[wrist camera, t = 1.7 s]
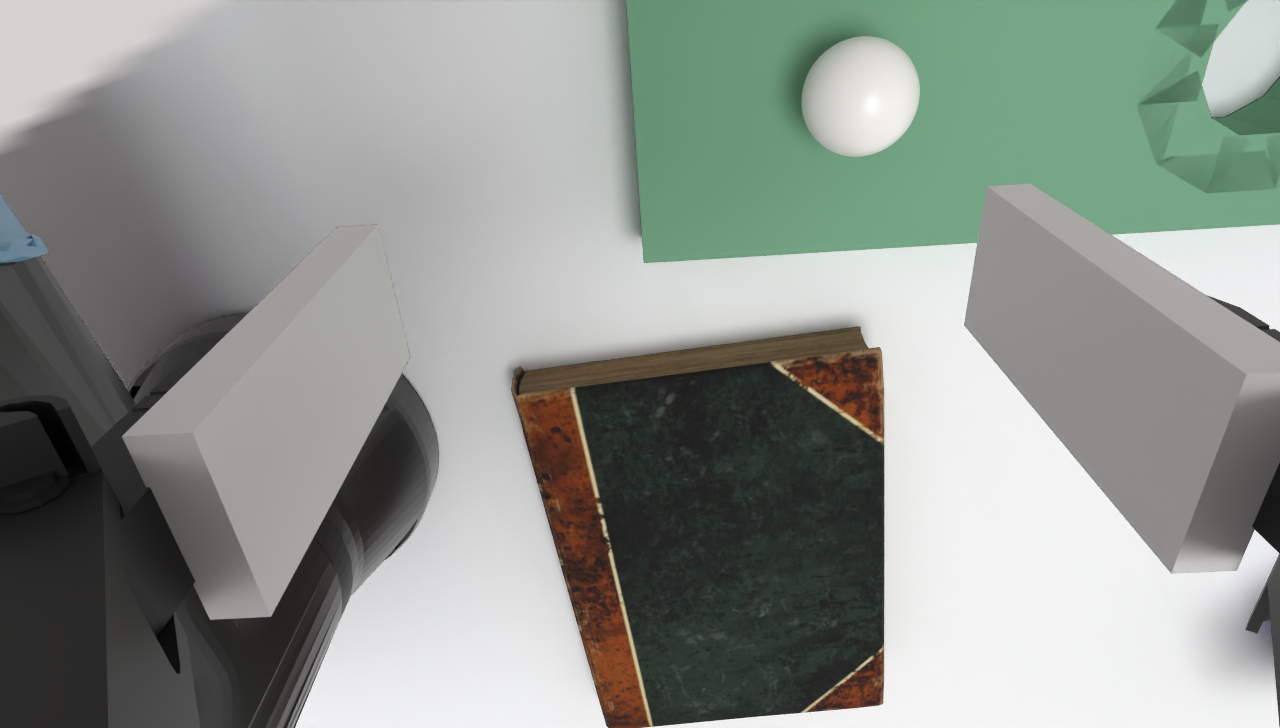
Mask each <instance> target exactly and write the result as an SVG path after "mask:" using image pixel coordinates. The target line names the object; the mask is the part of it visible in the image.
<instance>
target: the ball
mask: <svg viewBox="0 0 1280 728" xmlns="http://www.w3.org/2000/svg"><path fill="white" fill-rule="evenodd" d="M919 98H920V83H919V78H918V74H917V71H916V69H915V66H914V64H913V63H912V61H911V59H910V58H909V56H908V55H907V54H906V53H905V52H904V51H903V50H902V49H901V48H900V47H898V46H897V45H895V44H894V43H892V42H890V41H888V40H886V39H882V38H879V37H872V36H859V37H853V38H850V39H846V40H844V41H842V42H839V43H837V44H835V45H834V46H832V47H831V48H829V49H828V50H827V51H825V52H824V53H823V54H822V55H821V56H820V57H819V58H818V59H817V61H816V62H815V63H814V64H813V66H812V68H811V69H810V71H809V73H808V75H807V77H806V80H805V83H804V86H803V91H802V100H801V102H802V113H803V117H804V121H805V123H806V125H807V128H808V130H809V131H810V133H811V134H812V136H813V137H814V138H815V139H816V141H817V142H819V143H820V144H821V145H822V146H823V147H825V148H826V149H828V150H830V151H832V152H834V153H836V154H840V155H844V156H850V157H861V156H867V155H871V154H874V153H877V152H880V151H882V150H884V149H886V148H888V147H889V146H891V145H892V144H893V143H895V142H896V141H897V140H898V139H899V138H900V137H901V136H902V135H903V134H904V133H905V132H906V130H907V129H908V128H909V126H910V124H911V123H912V121H913V119H914V117H915V114H916V111H917V108H918V104H919Z"/></svg>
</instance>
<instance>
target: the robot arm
mask: <svg viewBox="0 0 1280 728" xmlns="http://www.w3.org/2000/svg"><path fill="white" fill-rule="evenodd" d="M47 253H48V249H47V248H46V246H45V244H44V243H43V241H42V240H41V239H40V237H38V236H36V235H34V234H31V233H28V232H27V231H26V230H25V228H24V227H23V226H22V224H21V223H20V221H19V220H18V219H17V217H16V216H15V215H14V213H13V212H12V210H11V209H10V208H9V206H8V205H7V203H6V202H5V201H4V199H3V198H2V196H1V195H0V728H295V726H296V723H297V721H298V719H299V716H300V714H301V711H302V709H303V707H304V704H305V702H306V700H307V697H308V695H309V692H310V690H311V688H312V685H313V683H314V680H315V678H316V676H317V673H318V671H319V668H320V666H321V664H322V661H323V659H324V656H325V654H326V652H327V649H328V647H329V645H330V642H331V640H332V637H333V635H334V633H335V630H336V628H337V625H338V623H339V621H340V619H341V616H342V614H343V612H344V610H345V607H346V605H347V603H348V601H349V598H350V596H351V595H352V594H353V593H354V592H355V591H356V590H357V589H358V588H359V587H360V586H361V585H362V584H363V582H364V581H365V580H366V579H367V578H368V577H369V576H370V575H371V574H372V573H373V572H374V571H375V570H376V568H377V567H378V566H379V565H380V564H381V563H382V562H383V561H384V560H385V559H387V558H388V557H390V556H391V555H392V554H393V553H394V552H395V551H396V550H397V549H399V548H400V547H401V546H402V545H403V544H404V543H405V542H406V541H407V539H408V538H409V537H410V536H411V534H412V533H413V531H414V530H415V528H416V527H417V525H418V524H419V522H420V520H421V518H422V516H423V514H424V512H425V509H426V507H427V504H428V501H429V499H430V496H431V493H432V491H433V488H434V485H435V482H436V478H437V473H438V464H439V452H438V443H437V438H436V434H435V430H434V427H433V424H432V421H431V419H430V416H429V414H428V412H427V410H426V408H425V406H424V404H423V403H422V401H421V399H420V398H419V396H418V395H417V393H416V392H415V390H414V389H413V388H412V386H411V385H410V384H409V383H408V381H407V380H406V379H405V378H404V377H403V376H402V375H401V374H402V372H403V370H404V368H405V366H406V364H407V362H408V361H409V359H410V353H409V349H408V345H407V341H406V337H405V333H404V329H403V325H402V320H401V316H400V312H399V308H398V304H397V300H396V296H395V291H394V287H393V283H392V279H391V275H390V271H389V267H388V263H387V258H386V254H385V250H384V246H383V242H382V238H381V234H380V229H379V225H362V226H347V227H336V228H335V229H334V230H333V231H332V232H331V233H330V234H329V235H328V236H327V237H326V238H325V239H324V240H323V241H322V242H321V243H320V244H319V245H318V246H317V247H316V248H315V249H314V250H313V251H312V252H311V253H310V254H309V255H308V256H307V257H306V258H304V259H303V260H302V261H301V262H300V263H299V264H298V265H297V266H296V267H295V268H294V269H293V270H292V271H291V272H290V273H289V274H288V275H287V276H286V277H285V278H284V279H283V280H282V281H281V282H280V283H279V284H278V285H277V286H276V287H275V288H274V289H273V290H272V291H271V292H270V293H269V294H268V295H267V296H265V297H264V298H263V299H262V300H261V301H260V302H259V303H258V304H257V305H256V306H255V307H254V308H253V309H252V310H251V311H250V312H249V313H246V314H236V315H230V316H224V317H220V318H216V319H213V320H210V321H207V322H204V323H202V324H199V325H197V326H195V327H193V328H191V329H189V330H187V331H186V332H184V333H183V334H181V335H180V336H178V337H177V338H176V339H174V340H173V341H172V342H171V343H170V344H168V345H167V346H166V347H165V348H164V349H163V350H162V351H160V352H159V353H158V354H157V355H156V356H155V357H154V358H152V359H151V360H150V361H149V362H148V363H147V364H146V365H145V366H144V367H143V368H142V369H141V371H140V372H139V373H138V374H137V376H136V377H135V378H134V380H133V381H132V383H131V385H130V386H129V388H128V390H127V389H126V387H125V386H124V384H123V383H122V381H121V380H120V378H119V377H118V375H117V374H116V372H115V370H114V369H113V367H112V366H111V364H110V363H109V361H108V360H107V358H106V357H105V355H104V354H103V352H102V350H101V349H100V347H99V346H98V344H97V343H96V341H95V340H94V338H93V337H92V335H91V334H90V332H89V331H88V329H87V327H86V326H85V324H84V323H83V321H82V320H81V318H80V317H79V315H78V314H77V312H76V311H75V309H74V307H73V306H72V304H71V303H70V301H69V300H68V298H67V297H66V295H65V294H64V292H63V291H62V289H61V288H60V286H59V284H58V283H57V281H56V280H55V278H54V277H53V275H52V273H51V272H50V270H49V269H48V267H47V265H46V264H45V262H44V261H43V259H42V258H41V256H42V255H46V254H47ZM964 326H965V327H966V328H967V329H968V330H969V332H970V333H971V334H972V335H973V336H974V338H975V339H976V340H977V341H978V342H979V344H980V345H981V346H982V347H983V348H984V350H985V351H986V352H987V353H988V354H989V356H990V357H991V358H992V359H993V360H994V362H995V363H996V364H997V365H998V366H999V368H1000V369H1001V370H1002V371H1003V372H1004V374H1005V375H1006V376H1007V377H1008V378H1009V380H1010V381H1011V382H1012V383H1013V384H1014V386H1015V387H1016V388H1017V389H1018V390H1019V392H1020V393H1021V394H1022V395H1023V396H1024V398H1025V399H1026V400H1027V401H1028V402H1029V403H1030V405H1031V406H1032V407H1033V408H1034V409H1035V411H1036V412H1037V413H1038V414H1039V415H1040V417H1041V418H1042V419H1043V420H1044V421H1045V423H1046V424H1047V425H1048V426H1049V427H1050V429H1051V430H1052V431H1053V432H1054V433H1055V435H1056V436H1057V437H1058V438H1059V439H1060V441H1061V442H1062V443H1063V444H1064V445H1065V447H1066V448H1067V449H1068V450H1069V451H1070V453H1071V454H1072V455H1073V456H1074V457H1075V459H1076V460H1077V461H1078V462H1079V463H1080V465H1081V466H1082V467H1083V468H1084V469H1085V471H1086V472H1087V473H1088V474H1089V475H1090V477H1091V478H1092V479H1093V480H1094V481H1095V483H1096V484H1097V485H1098V486H1099V487H1100V489H1101V490H1102V491H1103V492H1104V493H1105V495H1106V496H1107V497H1108V498H1109V499H1110V501H1111V502H1112V503H1113V504H1114V505H1115V507H1116V508H1117V509H1118V510H1119V511H1120V513H1121V514H1122V515H1123V516H1124V517H1125V519H1126V520H1127V521H1128V522H1129V523H1130V525H1131V526H1132V527H1133V528H1134V529H1135V531H1136V532H1137V533H1138V534H1139V535H1140V537H1141V538H1142V539H1143V540H1144V541H1145V543H1146V544H1147V545H1148V546H1149V547H1150V549H1151V550H1152V551H1153V552H1154V553H1155V555H1156V556H1157V557H1158V558H1159V559H1160V561H1161V562H1162V563H1163V564H1164V565H1165V567H1166V568H1167V569H1168V570H1169V571H1170V573H1171V574H1173V573H1194V572H1215V571H1235V570H1237V569H1238V567H1239V564H1240V562H1241V560H1242V557H1243V555H1244V553H1245V550H1246V548H1247V546H1248V544H1249V541H1250V539H1251V537H1252V534H1253V532H1254V530H1256V531H1257V532H1258V533H1259V534H1260V535H1261V536H1262V537H1263V538H1264V539H1265V540H1266V541H1267V542H1268V543H1269V544H1270V545H1271V546H1272V547H1274V548H1275V549H1276V550H1277V551H1278V552H1279V553H1280V332H1279V331H1277V330H1275V329H1270V330H1269V325H1267V324H1266V323H1264V322H1262V321H1261V320H1259V319H1258V318H1256V317H1254V316H1253V315H1251V314H1250V313H1248V312H1246V311H1245V310H1243V309H1242V308H1240V307H1237V306H1234V305H1231V304H1229V303H1226V302H1223V301H1221V300H1218V299H1215V298H1212V297H1210V296H1207V295H1205V294H1203V293H1202V292H1200V291H1199V290H1197V289H1195V288H1194V287H1192V286H1191V285H1189V284H1188V283H1186V282H1184V281H1183V280H1181V279H1180V278H1178V277H1177V276H1175V275H1173V274H1172V273H1170V272H1169V271H1167V270H1166V269H1164V268H1162V267H1161V266H1159V265H1158V264H1156V263H1155V262H1153V261H1151V260H1150V259H1148V258H1147V257H1145V256H1144V255H1142V254H1140V253H1139V252H1137V251H1136V250H1134V249H1133V248H1131V247H1129V246H1128V245H1126V244H1125V243H1123V242H1122V241H1120V240H1118V239H1117V238H1115V237H1114V236H1112V235H1111V234H1109V233H1107V232H1106V231H1104V230H1103V229H1101V228H1100V227H1098V226H1096V225H1095V224H1093V223H1092V222H1090V221H1089V220H1087V219H1085V218H1084V217H1082V216H1081V215H1079V214H1078V213H1076V212H1074V211H1073V210H1071V209H1070V208H1068V207H1067V206H1065V205H1063V204H1062V203H1060V202H1059V201H1057V200H1056V199H1054V198H1052V197H1051V196H1049V195H1048V194H1046V193H1045V192H1043V191H1041V190H1040V189H1038V188H1037V187H1035V186H1034V185H1032V184H1014V185H998V186H987V187H986V193H985V199H984V206H983V212H982V218H981V224H980V230H979V236H978V243H977V249H976V255H975V261H974V267H973V274H972V280H971V286H970V292H969V298H968V305H967V311H966V317H965V323H964ZM1269 619H1271V631H1272V642H1273V654H1274V666H1275V678H1276V690H1277V701H1278V713H1279V725H1280V554H1279V556H1278V558H1277V560H1276V562H1275V564H1274V567H1273V569H1272V571H1271V573H1270V575H1269V577H1268V579H1267V582H1266V584H1265V586H1264V588H1263V590H1262V592H1261V595H1260V597H1259V599H1258V601H1257V603H1256V605H1255V607H1254V610H1253V612H1252V614H1251V616H1250V618H1249V621H1248V624H1247V627H1246V630H1248V631H1251V632H1254V633H1258V631H1259V629H1260V627H1261V625H1262V623H1263V622H1264V621H1266V620H1269Z"/></svg>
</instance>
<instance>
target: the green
mask: <svg viewBox="0 0 1280 728" xmlns="http://www.w3.org/2000/svg"><path fill="white" fill-rule="evenodd" d="M1246 1H1248V0H626V6H627V21H628V36H629V51H630V66H631V81H632V96H633V111H634V125H635V140H636V155H637V170H638V185H639V200H640V215H641V230H642V245H643V260H644V263H652V262H668V261H685V260H701V259H717V258H734V257H750V256H767V255H783V254H799V253H816V252H832V251H848V250H865V249H881V248H898V247H914V246H930V245H947V244H963V243H978V236H979V230H980V224H981V218H982V212H983V206H984V199H985V193H986V187H987V186H998V185H1014V184H1032V185H1034V186H1035V187H1037V188H1038V189H1040V190H1041V191H1043V192H1045V193H1046V194H1048V195H1049V196H1051V197H1052V198H1054V199H1056V200H1057V201H1059V202H1060V203H1062V204H1063V205H1065V206H1067V207H1068V208H1070V209H1071V210H1073V211H1074V212H1076V213H1078V214H1079V215H1081V216H1082V217H1084V218H1085V219H1087V220H1089V221H1090V222H1092V223H1093V224H1095V225H1096V226H1098V227H1100V228H1101V229H1103V230H1104V231H1106V232H1107V233H1109V234H1127V233H1143V232H1160V231H1176V230H1193V229H1209V228H1225V227H1242V226H1258V225H1274V224H1280V78H1279V79H1278V80H1277V81H1276V82H1275V84H1274V85H1273V86H1272V87H1271V88H1270V89H1269V91H1268V92H1267V93H1266V94H1265V95H1264V96H1263V97H1261V98H1260V99H1258V100H1256V101H1254V102H1252V103H1250V104H1249V105H1247V106H1245V107H1243V108H1241V109H1240V110H1238V111H1236V112H1234V113H1232V114H1230V115H1229V116H1227V117H1213V118H1211V114H1210V111H1209V108H1208V104H1207V101H1206V97H1205V94H1204V90H1203V87H1202V82H1203V78H1204V74H1205V71H1206V67H1207V64H1208V60H1209V57H1210V53H1211V50H1212V46H1213V43H1214V41H1215V40H1216V38H1217V37H1218V36H1219V35H1220V33H1221V32H1222V31H1223V30H1224V28H1225V27H1226V26H1227V25H1228V23H1229V22H1230V21H1231V20H1232V18H1233V17H1234V16H1235V15H1236V13H1237V12H1238V11H1239V10H1240V8H1241V7H1242V6H1243V5H1244V3H1245V2H1246ZM859 36H872V37H879V38H882V39H886V40H888V41H890V42H892V43H894V44H895V45H897V46H898V47H900V48H901V49H902V50H903V51H904V52H905V53H906V54H907V55H908V56H909V58H910V59H911V61H912V63H913V64H914V66H915V69H916V71H917V74H918V78H919V83H920V98H919V104H918V108H917V111H916V114H915V117H914V119H913V121H912V123H911V124H910V126H909V128H908V129H907V130H906V132H905V133H904V134H903V135H902V136H901V137H900V138H899V139H898V140H897V141H896V142H895V143H893V144H892V145H891V146H889V147H888V148H886V149H884V150H882V151H880V152H877V153H874V154H871V155H867V156H861V157H850V156H844V155H840V154H836V153H834V152H832V151H830V150H828V149H826V148H825V147H823V146H822V145H821V144H820V143H819V142H817V141H816V139H815V138H814V137H813V136H812V134H811V133H810V131H809V130H808V128H807V125H806V123H805V121H804V117H803V113H802V102H801V100H802V91H803V86H804V83H805V80H806V77H807V75H808V73H809V71H810V69H811V68H812V66H813V64H814V63H815V62H816V61H817V59H818V58H819V57H820V56H821V55H822V54H823V53H824V52H825V51H827V50H828V49H829V48H831V47H832V46H834V45H835V44H837V43H839V42H842V41H844V40H846V39H850V38H853V37H859Z"/></svg>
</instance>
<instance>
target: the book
mask: <svg viewBox="0 0 1280 728" xmlns="http://www.w3.org/2000/svg"><path fill="white" fill-rule="evenodd" d="M511 391H512V395H513V398H514V401H515V404H516V407H517V411H518V414H519V417H520V421H521V424H522V428H523V432H524V436H525V440H526V444H527V447H528V451H529V454H530V458H531V461H532V465H533V468H534V472H535V476H536V479H537V483H538V486H539V490H540V493H541V497H542V500H543V504H544V507H545V511H546V514H547V518H548V522H549V525H550V529H551V532H552V536H553V539H554V543H555V546H556V550H557V553H558V557H559V561H560V564H561V568H562V571H563V575H564V578H565V582H566V585H567V589H568V592H569V596H570V599H571V603H572V606H573V610H574V613H575V617H576V621H577V624H578V628H579V631H580V635H581V638H582V642H583V645H584V649H585V652H586V656H587V659H588V663H589V666H590V670H591V673H592V677H593V680H594V684H595V687H596V691H597V694H598V698H599V701H600V705H601V708H602V712H603V715H604V718H605V722H606V726H607V727H608V728H643V727H653V726H663V725H674V724H684V723H694V722H705V721H715V720H725V719H736V718H746V717H757V716H769V715H780V714H792V713H803V712H815V711H827V710H838V709H850V708H860V707H869V706H878V705H881V704H883V691H884V382H883V364H882V351H881V349H880V347H877V348H870V349H869V348H868V347H867V346H866V344H865V342H864V339H863V336H862V334H861V332H860V327H853V328H845V329H838V330H830V331H823V332H815V333H808V334H800V335H793V336H785V337H778V338H770V339H763V340H755V341H748V342H740V343H732V344H725V345H717V346H710V347H702V348H695V349H687V350H680V351H672V352H665V353H657V354H650V355H642V356H635V357H627V358H620V359H612V360H605V361H597V362H590V363H582V364H575V365H568V366H560V367H553V368H545V369H538V370H531V371H526V372H525V374H524V371H523V368H522V367H519V369H518V370H517V372H516V374H515V375H514V377H513V379H512V387H511Z"/></svg>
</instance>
